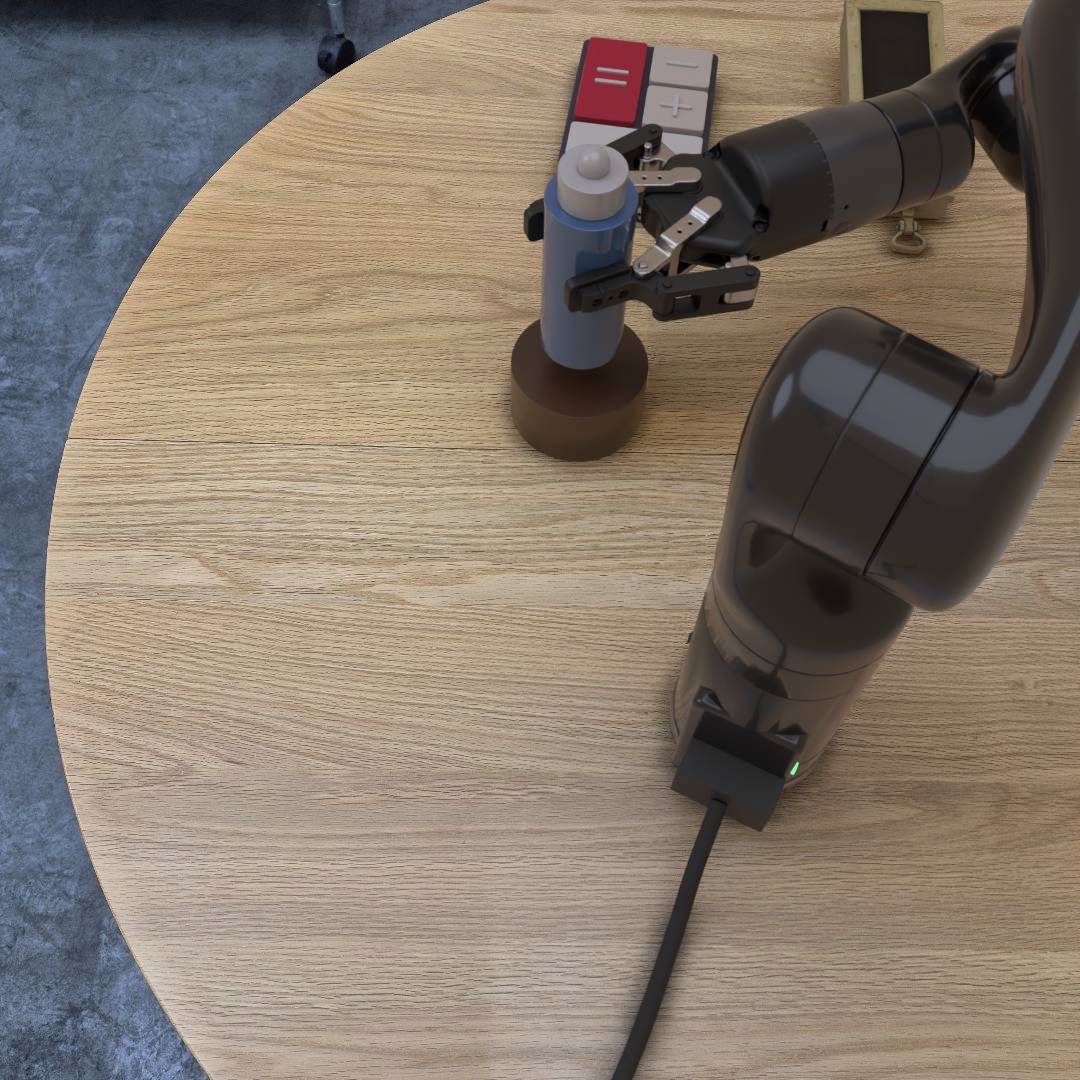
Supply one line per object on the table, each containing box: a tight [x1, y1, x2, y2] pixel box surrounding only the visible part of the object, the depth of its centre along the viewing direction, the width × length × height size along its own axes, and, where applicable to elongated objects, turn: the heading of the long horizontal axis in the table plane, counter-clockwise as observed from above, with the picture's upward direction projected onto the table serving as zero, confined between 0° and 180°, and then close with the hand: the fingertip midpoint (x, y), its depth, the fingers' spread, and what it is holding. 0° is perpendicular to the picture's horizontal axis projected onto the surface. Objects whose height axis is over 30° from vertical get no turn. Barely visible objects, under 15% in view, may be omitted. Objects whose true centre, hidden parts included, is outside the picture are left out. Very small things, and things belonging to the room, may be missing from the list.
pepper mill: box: [540, 144, 639, 370], centre depth 70 cm, size 5×5×15 cm
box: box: [839, 0, 956, 255], centre depth 94 cm, size 8×22×5 cm, turn 178°
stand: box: [510, 317, 650, 462], centre depth 81 cm, size 9×9×5 cm
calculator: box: [557, 36, 719, 208], centre depth 94 cm, size 11×4×15 cm
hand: (547, 260), depth 69 cm, fingers closed on pepper mill, 5 cm apart
